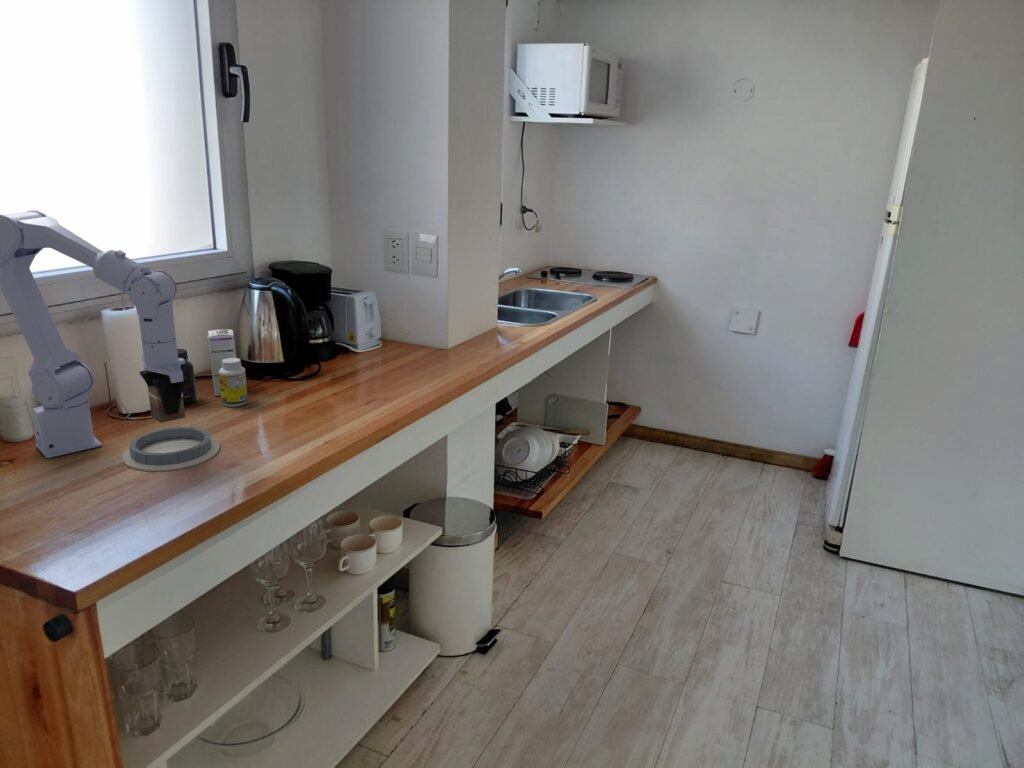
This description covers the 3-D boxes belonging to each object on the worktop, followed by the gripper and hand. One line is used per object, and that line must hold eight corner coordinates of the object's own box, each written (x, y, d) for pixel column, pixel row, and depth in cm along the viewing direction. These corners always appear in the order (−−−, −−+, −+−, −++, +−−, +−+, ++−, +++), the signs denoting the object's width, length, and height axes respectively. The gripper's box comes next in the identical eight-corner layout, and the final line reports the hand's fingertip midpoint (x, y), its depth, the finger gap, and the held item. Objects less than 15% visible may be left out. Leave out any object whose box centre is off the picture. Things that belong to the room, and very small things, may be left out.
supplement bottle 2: (222, 400, 173) (218, 357, 170) (248, 398, 175) (244, 355, 172) (221, 408, 168) (217, 364, 165) (247, 406, 170) (244, 362, 167)
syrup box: (240, 394, 178) (235, 334, 173) (213, 396, 175) (207, 335, 171) (239, 386, 183) (234, 328, 178) (212, 389, 180) (207, 329, 176)
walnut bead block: (160, 423, 139) (156, 392, 137) (151, 416, 142) (147, 385, 141) (185, 417, 142) (182, 387, 141) (176, 410, 146) (172, 381, 144)
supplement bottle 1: (159, 401, 171) (153, 350, 167) (189, 395, 176) (184, 345, 172) (171, 409, 166) (165, 357, 163) (202, 403, 171) (197, 352, 167)
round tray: (141, 479, 133) (139, 466, 132) (109, 450, 145) (107, 437, 144) (234, 455, 144) (233, 442, 144) (198, 429, 156) (197, 418, 155)
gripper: (197, 344, 135) (204, 415, 140) (166, 328, 145) (174, 395, 150) (156, 350, 131) (164, 424, 135) (127, 334, 141) (136, 403, 145)
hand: (167, 409), depth 142 cm, fingers closed on walnut bead block, 4 cm apart
